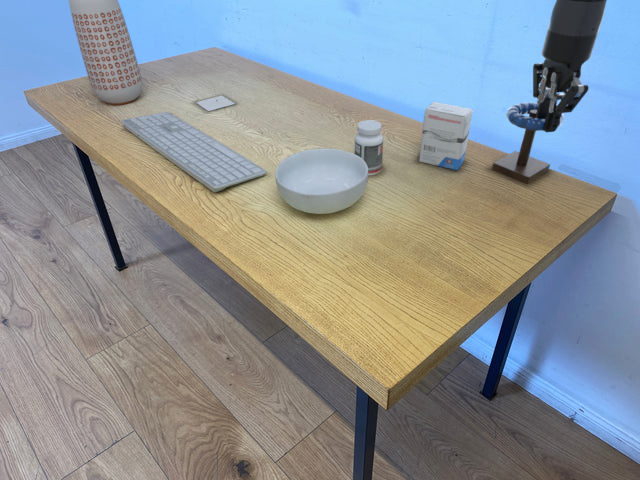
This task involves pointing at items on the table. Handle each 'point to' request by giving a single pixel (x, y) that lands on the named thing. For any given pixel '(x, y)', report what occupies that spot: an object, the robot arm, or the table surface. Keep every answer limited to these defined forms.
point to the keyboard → (193, 150)
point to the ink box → (445, 135)
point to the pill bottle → (370, 145)
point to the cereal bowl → (322, 180)
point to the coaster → (215, 103)
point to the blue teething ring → (526, 122)
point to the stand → (522, 160)
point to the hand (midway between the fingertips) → (544, 127)
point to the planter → (106, 50)
